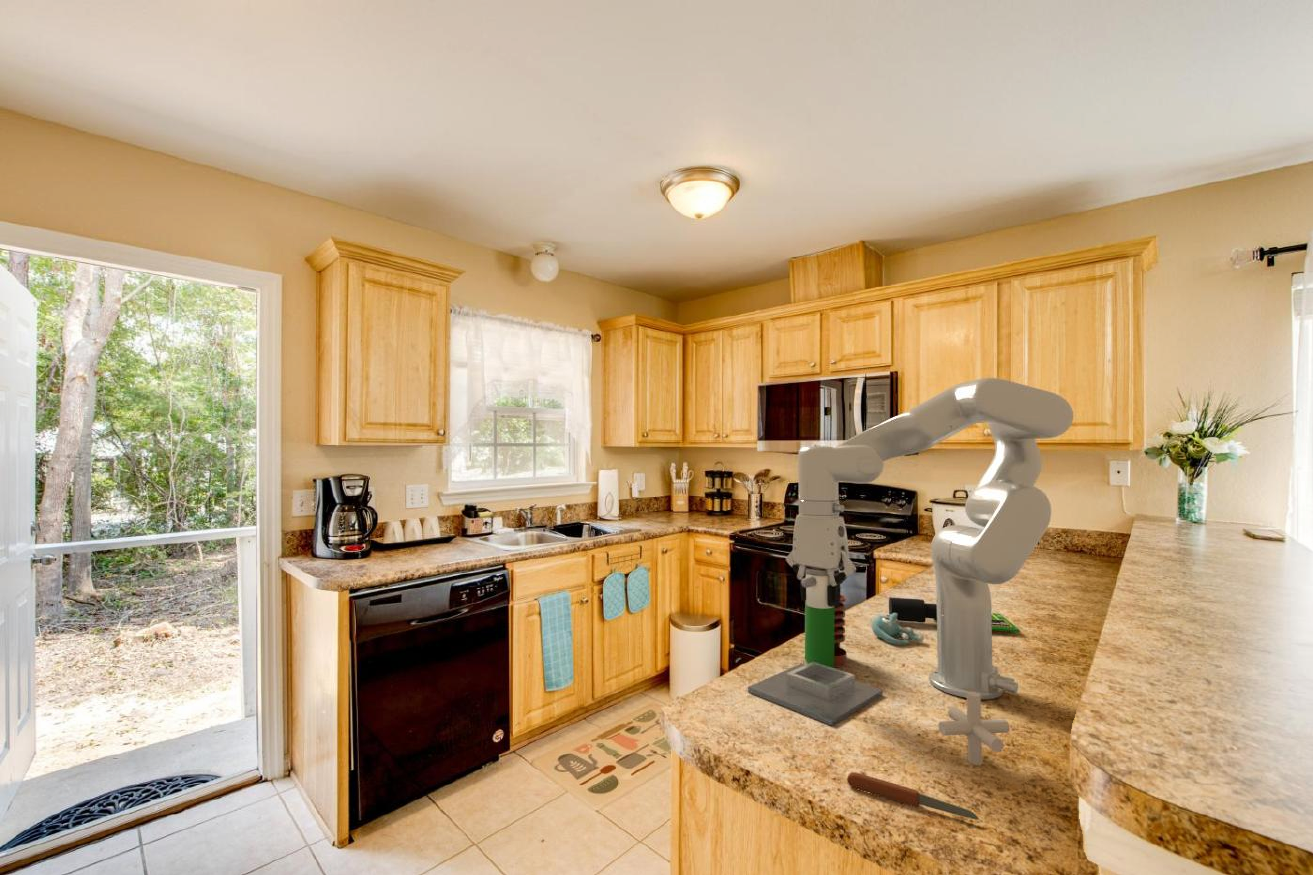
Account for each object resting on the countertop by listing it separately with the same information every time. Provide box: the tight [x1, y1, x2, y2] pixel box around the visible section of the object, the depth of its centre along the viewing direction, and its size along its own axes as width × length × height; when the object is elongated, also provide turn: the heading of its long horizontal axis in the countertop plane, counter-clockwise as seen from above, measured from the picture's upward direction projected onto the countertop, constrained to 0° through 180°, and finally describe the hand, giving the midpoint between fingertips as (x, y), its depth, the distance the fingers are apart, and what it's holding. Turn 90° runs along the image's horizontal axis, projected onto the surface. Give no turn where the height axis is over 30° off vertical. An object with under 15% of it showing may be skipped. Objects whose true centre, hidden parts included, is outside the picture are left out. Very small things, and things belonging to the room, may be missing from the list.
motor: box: [804, 586, 847, 669], centre depth 123 cm, size 10×9×20 cm
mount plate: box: [747, 662, 883, 727], centre depth 106 cm, size 18×18×3 cm
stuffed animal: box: [871, 613, 925, 646], centre depth 137 cm, size 11×7×12 cm
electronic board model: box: [888, 596, 1021, 633], centre depth 151 cm, size 30×7×15 cm
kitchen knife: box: [846, 771, 980, 821], centre depth 72 cm, size 16×1×2 cm, turn 58°
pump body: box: [801, 567, 834, 609], centre depth 107 cm, size 5×8×7 cm
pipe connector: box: [938, 691, 1011, 766], centre depth 82 cm, size 10×10×10 cm
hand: (820, 601), depth 108 cm, fingers closed on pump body, 5 cm apart
